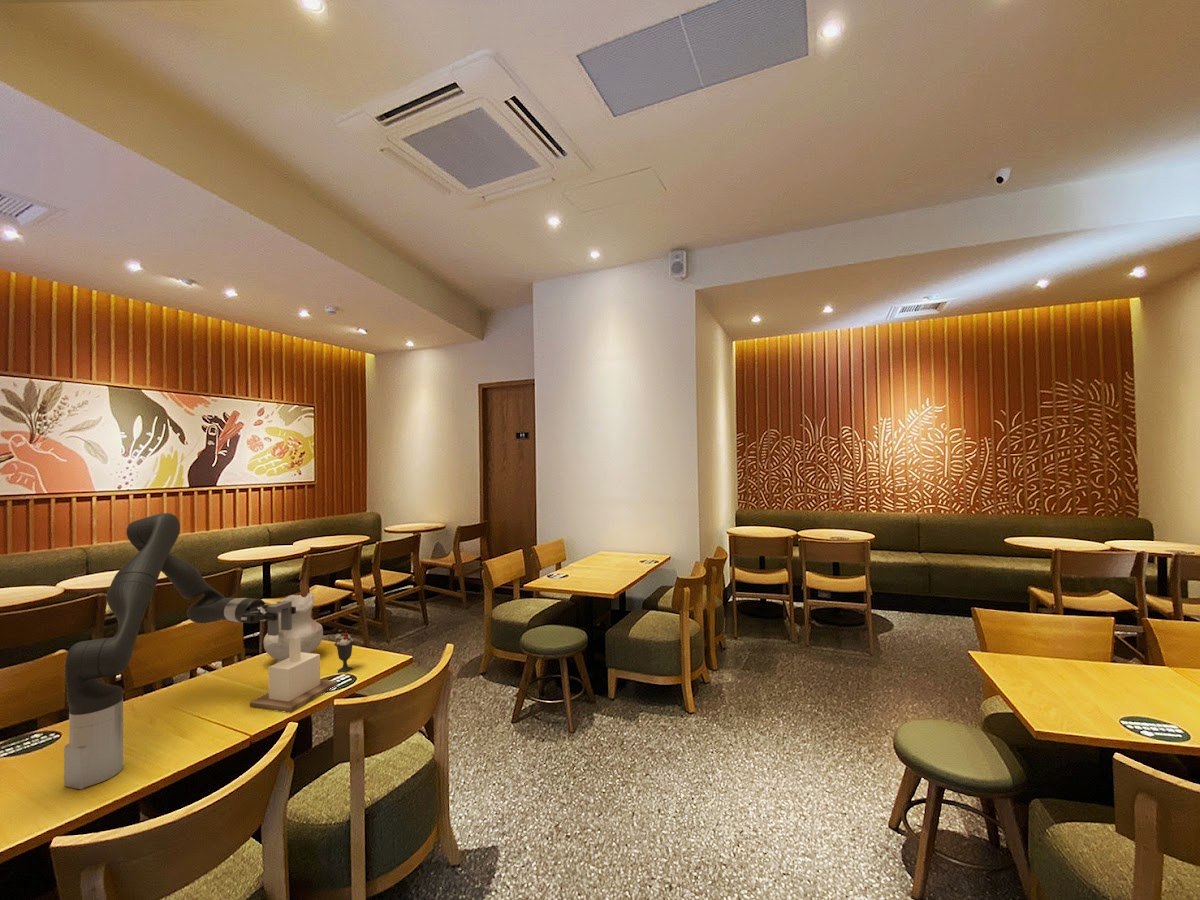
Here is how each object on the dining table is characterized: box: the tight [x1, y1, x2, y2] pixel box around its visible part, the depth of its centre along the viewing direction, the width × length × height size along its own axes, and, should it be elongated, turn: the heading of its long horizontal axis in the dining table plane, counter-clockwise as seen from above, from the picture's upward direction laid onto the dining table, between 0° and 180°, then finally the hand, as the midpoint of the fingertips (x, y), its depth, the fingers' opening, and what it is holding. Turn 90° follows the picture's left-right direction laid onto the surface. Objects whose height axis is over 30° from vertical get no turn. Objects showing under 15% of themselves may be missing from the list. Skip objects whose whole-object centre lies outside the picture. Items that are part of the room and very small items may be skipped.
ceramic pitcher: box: [263, 592, 324, 664], centre depth 186 cm, size 22×20×25 cm
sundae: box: [333, 629, 356, 673], centre depth 177 cm, size 7×7×15 cm
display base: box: [249, 678, 338, 714], centre depth 157 cm, size 18×16×2 cm
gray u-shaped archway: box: [267, 600, 292, 636], centre depth 154 cm, size 6×3×9 cm, turn 165°
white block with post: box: [268, 636, 321, 702], centre depth 158 cm, size 12×8×18 cm, turn 165°
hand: (286, 613), depth 154 cm, fingers closed on gray u-shaped archway, 6 cm apart
